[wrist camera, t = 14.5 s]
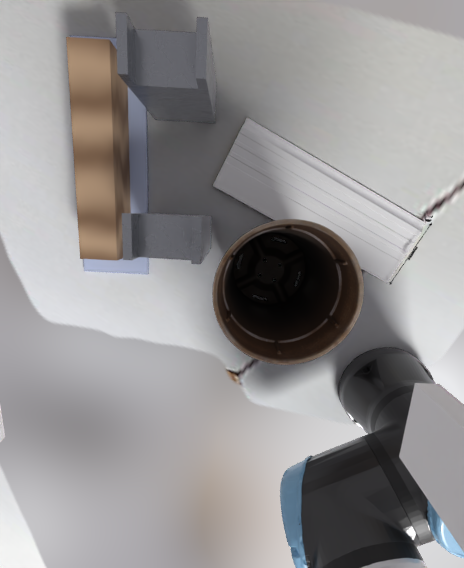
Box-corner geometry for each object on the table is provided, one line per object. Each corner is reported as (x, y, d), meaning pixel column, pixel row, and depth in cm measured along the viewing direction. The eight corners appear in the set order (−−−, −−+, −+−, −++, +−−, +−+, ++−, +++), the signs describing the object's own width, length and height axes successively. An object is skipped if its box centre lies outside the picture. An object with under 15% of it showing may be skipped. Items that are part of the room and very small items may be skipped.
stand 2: (210, 248, 47) (200, 264, 33) (156, 245, 47) (123, 259, 33) (211, 216, 46) (202, 217, 32) (156, 213, 46) (121, 213, 32)
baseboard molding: (251, 109, 43) (213, 186, 46) (252, 102, 40) (211, 184, 43) (428, 214, 46) (383, 281, 49) (440, 214, 43) (392, 285, 46)
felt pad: (148, 273, 48) (147, 274, 47) (86, 270, 48) (84, 271, 47) (146, 42, 41) (144, 39, 40) (72, 37, 41) (69, 35, 40)
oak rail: (131, 254, 47) (117, 260, 41) (99, 253, 47) (80, 258, 41) (127, 64, 41) (109, 39, 35) (90, 62, 41) (66, 36, 35)
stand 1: (215, 123, 43) (206, 78, 29) (155, 119, 43) (117, 73, 29) (216, 83, 42) (207, 17, 28) (155, 80, 42) (115, 12, 28)
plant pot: (331, 225, 46) (382, 231, 30) (310, 323, 50) (346, 373, 34) (226, 210, 46) (223, 208, 30) (213, 310, 49) (204, 355, 34)
